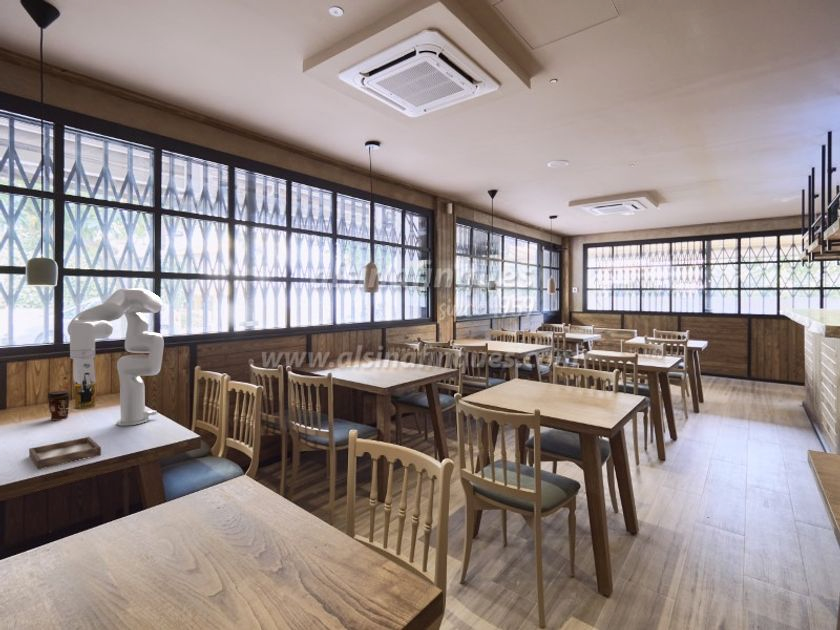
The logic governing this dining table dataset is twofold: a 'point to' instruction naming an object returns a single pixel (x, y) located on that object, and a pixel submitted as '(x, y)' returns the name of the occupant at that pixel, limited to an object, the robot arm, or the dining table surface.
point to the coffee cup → (58, 404)
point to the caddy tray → (64, 452)
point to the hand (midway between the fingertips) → (83, 400)
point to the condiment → (78, 398)
